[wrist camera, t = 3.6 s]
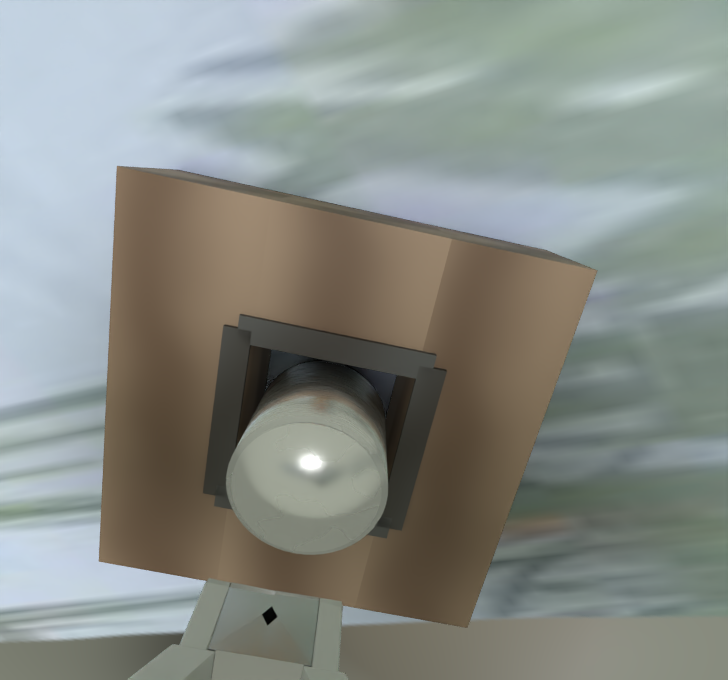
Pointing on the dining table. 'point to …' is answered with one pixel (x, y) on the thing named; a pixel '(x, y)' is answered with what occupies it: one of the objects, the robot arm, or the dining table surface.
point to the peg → (312, 461)
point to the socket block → (331, 343)
